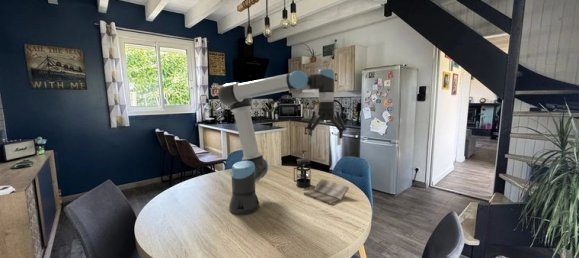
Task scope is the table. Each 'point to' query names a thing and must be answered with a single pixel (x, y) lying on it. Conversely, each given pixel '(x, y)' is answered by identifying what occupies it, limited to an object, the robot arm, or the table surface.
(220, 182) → the table surface
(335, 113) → the robot arm
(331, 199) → the laid board
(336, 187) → the plank
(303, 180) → the french press
